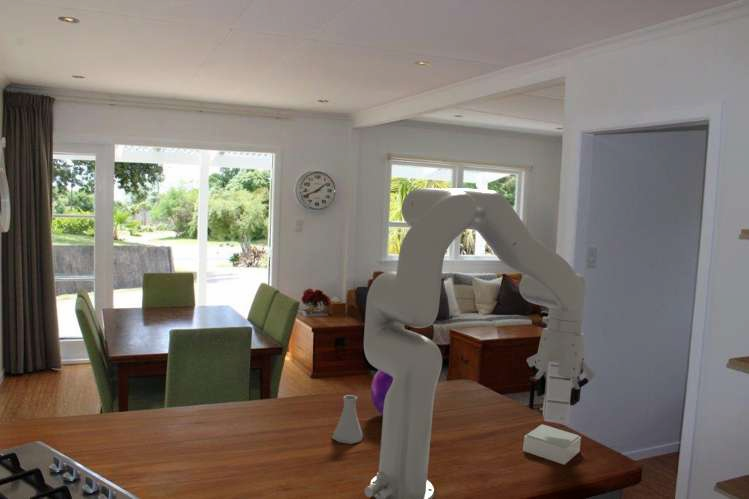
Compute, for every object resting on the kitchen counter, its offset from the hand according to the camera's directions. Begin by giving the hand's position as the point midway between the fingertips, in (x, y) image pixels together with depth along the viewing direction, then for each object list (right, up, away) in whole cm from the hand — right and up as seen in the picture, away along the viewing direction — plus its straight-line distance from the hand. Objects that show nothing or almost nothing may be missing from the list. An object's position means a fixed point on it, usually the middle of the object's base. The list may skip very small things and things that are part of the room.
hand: (557, 398), depth 143 cm
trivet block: (-1, -13, +1) cm, 13 cm away
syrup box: (0, -5, 0) cm, 5 cm away
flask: (-49, -10, 0) cm, 50 cm away
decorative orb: (-37, -9, +15) cm, 41 cm away
